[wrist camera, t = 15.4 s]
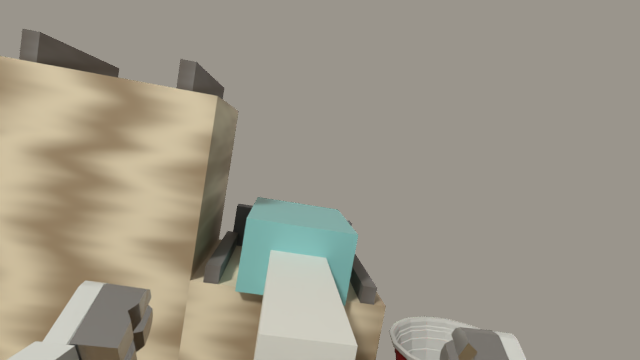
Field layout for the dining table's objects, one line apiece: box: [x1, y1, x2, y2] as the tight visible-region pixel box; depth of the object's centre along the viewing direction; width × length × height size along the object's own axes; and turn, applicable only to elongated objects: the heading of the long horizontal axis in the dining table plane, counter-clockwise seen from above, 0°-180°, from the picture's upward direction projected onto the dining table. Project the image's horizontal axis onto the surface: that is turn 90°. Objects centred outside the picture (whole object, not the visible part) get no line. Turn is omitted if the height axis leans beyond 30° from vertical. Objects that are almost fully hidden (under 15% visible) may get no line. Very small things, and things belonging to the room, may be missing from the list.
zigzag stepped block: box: [0, 29, 386, 360], centre depth 25 cm, size 22×9×30 cm, turn 95°
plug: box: [235, 197, 358, 360], centre depth 20 cm, size 6×17×4 cm, turn 5°
